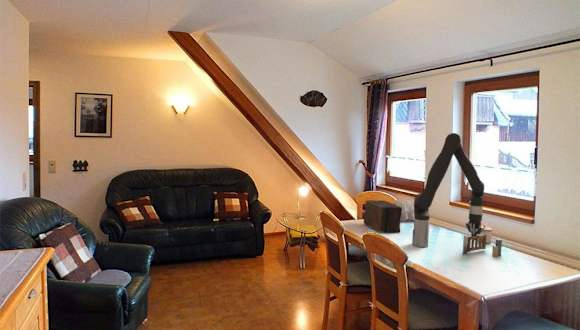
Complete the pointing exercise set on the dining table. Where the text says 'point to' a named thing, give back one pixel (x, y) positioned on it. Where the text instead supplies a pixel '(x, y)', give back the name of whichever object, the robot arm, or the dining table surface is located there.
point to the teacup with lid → (486, 233)
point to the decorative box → (382, 216)
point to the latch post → (497, 248)
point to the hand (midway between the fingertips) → (473, 240)
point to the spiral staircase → (406, 209)
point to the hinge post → (465, 245)
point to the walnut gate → (476, 242)
